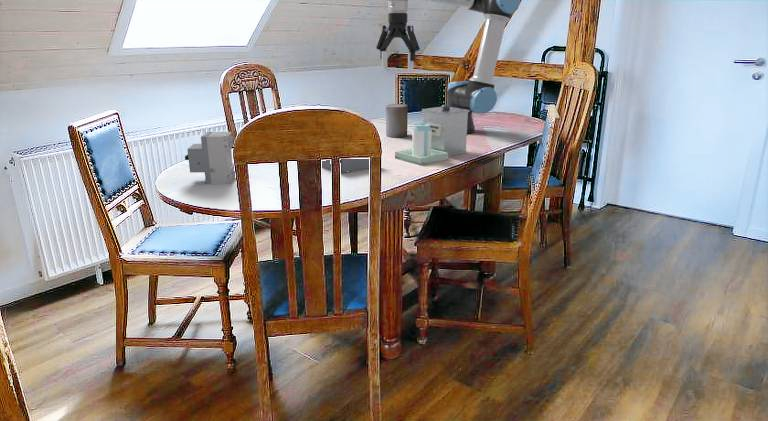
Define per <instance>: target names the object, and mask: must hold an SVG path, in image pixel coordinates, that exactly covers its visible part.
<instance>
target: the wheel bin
mask: <svg viewBox="0 0 768 421" xmlns="http://www.w3.org/2000/svg"><path fill="white" fill-rule="evenodd" d="M340 163H341V173H342V174H344V173H343V172H347V171H352V172H354V171H353V170H357V171H360V170H359V169H362V170H366V169H365V168H367V169H370V168H369V159H341V160H340ZM321 168H324V169H327V170H328V171H329V170H330V171H332V170H331V164H330V160H326V161H322V167H321ZM347 173H348V172H347Z"/></svg>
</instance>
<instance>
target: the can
mask: <svg viewBox="0 0 768 421" xmlns="http://www.w3.org/2000/svg"><path fill="white" fill-rule="evenodd" d="M413 126H414V127H413V128H412V132H411V134H412V136H411V138H412V139H411V141H412V144H411V149H412V155H413V156H417V157H425V156H431V136H432V129H431V127H430V124H424V123H423V122H422V123H419V122H418V123H415V124H413Z"/></svg>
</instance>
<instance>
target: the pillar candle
mask: <svg viewBox="0 0 768 421" xmlns="http://www.w3.org/2000/svg"><path fill="white" fill-rule="evenodd" d="M385 112H386V113H385V131H386V132H385V135H386V137H390V138H394V137H395V138H404V137H407V136H408V112H409V111H408V104H405V103H398V102H397V101H396V103H391V104H390V103H389V104H386V105H385Z"/></svg>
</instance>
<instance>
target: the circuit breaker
mask: <svg viewBox="0 0 768 421" xmlns="http://www.w3.org/2000/svg"><path fill="white" fill-rule="evenodd" d="M232 132H233V131H206V132H205V133H204V134H203V135H200V141H201V142H200V143H193V144H192V145H190V146H189V147H188V148H187V154H186V155H184V160H185V161H188V167H189V173H192V174H193V173H204V176H205V179H204V180H205V181H204V182H205V184H207V185H213V184H214V185H217V184H222V185H224V184H233V183H234V182H235V180H236V179H235V171H234V164H233V163H234V162H233V157H232V156H233V155H232V149H233V148H232V147H233V146H234V145H233V143H234V137H233V133H232Z"/></svg>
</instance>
